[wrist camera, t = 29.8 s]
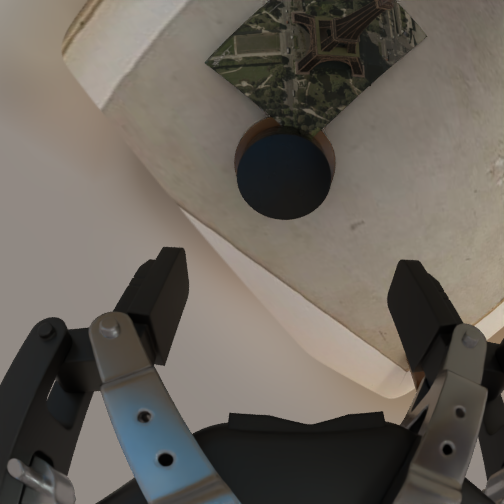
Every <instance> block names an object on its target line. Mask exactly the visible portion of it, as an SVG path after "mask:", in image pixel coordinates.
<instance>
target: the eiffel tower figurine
mask: <svg viewBox="0 0 504 504" xmlns="http://www.w3.org/2000/svg"><path fill="white" fill-rule="evenodd" d="M426 37H427V35H426V34H425V33H424V32H423V31H422V29H421V28H420V27H419V26H418V25H417V24H416V22H415V21H414V20H413V19H412V18H411V17H410V16H409V15H408V13H407V12H406V11H405V10H404V9H403V8H402V7H401V6H400V5H399V4H398V3H397V2H396V1H395V0H270V1H269V2H267V3H266V4H265V5H264V6H263V7H262V8H260V9H259V10H258V11H257V12H256V13H255V14H254V15H252V16H251V17H250V18H249V19H248V20H247V21H246V22H245V23H244V24H243V25H242V26H240V27H239V28H238V29H237V30H236V31H235V32H234V33H233V34H232V35H231V36H230V37H229V38H228V39H227V40H226V41H225V42H224V43H223V44H222V45H221V46H220V47H219V48H218V49H217V50H216V51H215V52H214V53H213V54H212V55H211V56H210V57H209V58H208V59H207V61H206V62H205V64H207V65H208V66H209V67H211V68H212V69H213V70H215V71H216V72H217V73H218V74H220V75H221V76H222V77H224V78H225V79H226V80H227V81H229V82H230V83H231V84H232V85H234V86H235V87H236V88H238V89H239V90H240V91H241V92H242V93H244V94H245V95H246V96H247V97H249V98H250V99H251V100H252V101H253V102H255V103H256V104H257V105H258V106H259V107H261V108H262V109H263V110H264V111H265V112H266V113H268V114H269V115H270V116H271V117H272V118H273V119H275V120H276V121H277V122H278V123H279V124H280V125H283V126H293V127H297V128H298V127H299V128H300V129H302V130H304V131H306V132H308V133H310V134H311V135H312V136H313V137H314V136H315V135H316V134H317V133H318V132H319V131H320V130H321V129H323V128H324V127H325V126H326V125H327V124H328V123H329V122H330V121H331V120H332V119H333V118H335V117H336V116H337V115H338V114H339V113H340V112H341V111H342V110H343V109H344V108H345V107H347V106H348V105H349V104H350V103H351V102H352V101H353V100H354V99H355V98H356V97H357V96H358V95H359V94H361V93H362V92H363V91H364V90H365V89H366V88H367V87H368V86H371V84H372V83H373V82H374V81H375V80H376V79H377V78H378V77H379V76H381V75H382V74H383V73H384V72H385V71H386V70H387V69H389V68H390V67H391V66H392V65H393V64H394V63H396V62H397V61H398V60H399V59H400V58H402V57H403V56H404V55H405V54H406V53H408V52H409V51H410V50H411V49H412V48H414V47H415V46H416V45H417V44H418V43H420V42H421V41H422V40H423V39H425V38H426Z"/></svg>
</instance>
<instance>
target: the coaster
mask: <svg viewBox="0 0 504 504" xmlns="http://www.w3.org/2000/svg"><path fill="white" fill-rule="evenodd" d="M274 126H281V125H280V124H279V123H278V122H277V121H276V120H275V119H273V118H272V117H268V118H265V119H263V120H261V121H259V122H257V123H256V124H254V125H253V126H252V127H251V128H250V129H249V130H248V131H247V132H246V133H245V134H244V136H243V137H242V139H241V140H240V142H239V144H238V147H237V150H236V154H235V162H234V164H235V172H236V176H237V168H238V164H239V162H240V159H241V157H242V154H243V152H244V149H245V147H246V146H247V144H248V143H249V141H250V140H251V139H252V138H253V137H254V136H255V135H256V134H258V133H259V132H261V131H263V130H265V129H267V128H270V127H274ZM314 138H315V139H316V140H317V141H318V142H319V143H320V145H321V146H322V148H323V150H324V152H325V155H326V157H327V160H328V162H329V165H330V169H331V182H332V180H333V177H334V173H335V155H334V150H333V148H332V145H331V143H330V141H329V139H328V138H327V136H326V135H325V134H324V133H323V132H322V131H321V130H320V131H319V132H318V133H317V134H316V135H315V136H314Z"/></svg>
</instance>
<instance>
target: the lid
mask: <svg viewBox="0 0 504 504" xmlns="http://www.w3.org/2000/svg"><path fill="white" fill-rule="evenodd" d="M237 183H238V188H239V190H240V193H241V195H242V197H243V198H244V200H245V201H246V202H247V203H248V204H249V206H250V207H252V208H253V209H254V210H255V211H257V212H258V213H260V214H262V215H264V216H267V217H270V218H274V219H280V220H290V219H296V218H300V217H303V216H305V215H307V214H309V213H311V212H313V211H314V210H315V209H317V208H318V207H319V206H320V205H321V204H322V202H323V201H324V200H325V198H326V196H327V194H328V192H329V189H330V186H331V169H330V165H329V162H328V160H327V157H326V155H325V152H324V150H323V148H322V146H321V145H320V143H319V142H318V141H317V140H316V139H315V138H314V137H313V136H312V135H311V134H310V133H308V132H306V131H304V130H302V129H300V128H299V127H298V128H297V127H293V126H283V125H281V126H274V127H270V128H267V129H265V130H263V131H261V132H259V133H258V134H256V135H255V136H254V137H253V138H252V139H251V140H250V141H249V143H248V144H247V146H246V147H245V149H244V152H243V154H242V157H241V159H240V162H239V164H238V168H237Z"/></svg>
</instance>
